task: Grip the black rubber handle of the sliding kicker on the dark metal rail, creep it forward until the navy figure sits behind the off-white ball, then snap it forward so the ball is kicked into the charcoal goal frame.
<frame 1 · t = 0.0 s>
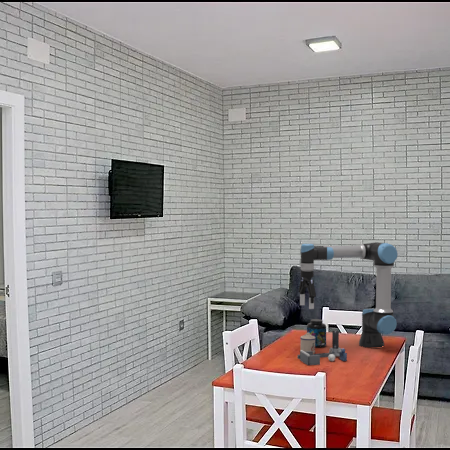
hand: (306, 307, 350), 28 cm above the table, fingers open, 13 cm apart
teacup with lid: (308, 352, 358), on the table
container: (316, 346, 374), on the table
kicker: (339, 345, 342), point 7 cm above the table, slide at 0.0 cm
rail: (320, 357, 345), on the table
ball: (331, 357, 336), point 2 cm above the table
goal: (309, 362, 333), on the table
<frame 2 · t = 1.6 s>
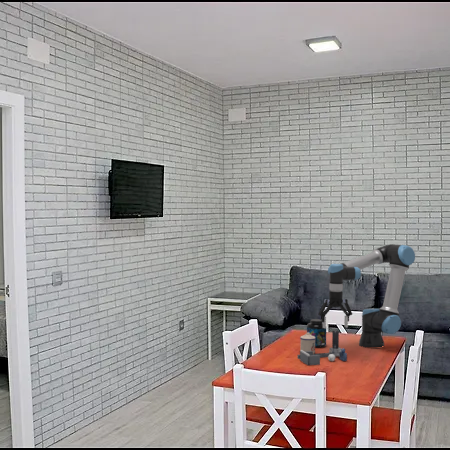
hand: (335, 327, 347), 17 cm above the table, fingers open, 13 cm apart
nothing on the table moved.
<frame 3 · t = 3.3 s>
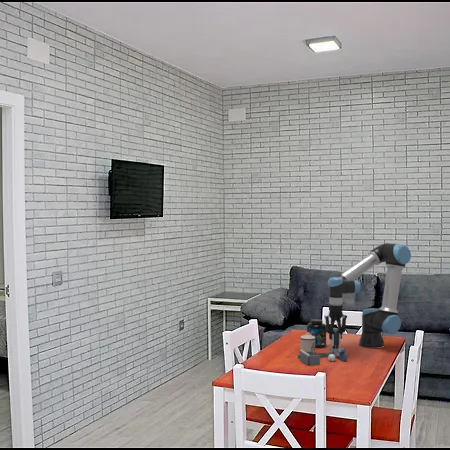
hand: (335, 344, 347), 7 cm above the table, fingers closed on kicker, 4 cm apart
kicker: (339, 345, 342), point 7 cm above the table, slide at 0.0 cm, touching gripper
everything else where it was.
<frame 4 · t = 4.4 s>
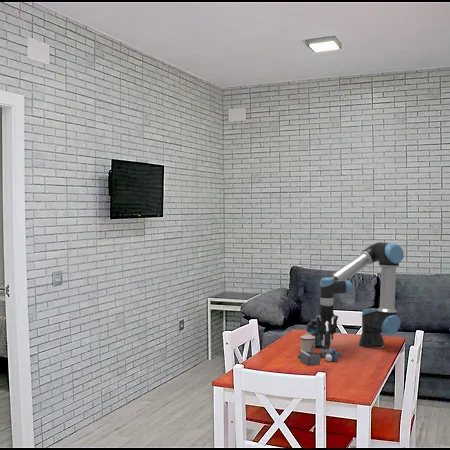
hand: (326, 345, 346), 7 cm above the table, fingers closed on kicker, 4 cm apart
kicker: (330, 345, 341), point 7 cm above the table, slide at 5.6 cm, touching gripper
ball: (328, 357, 336), point 2 cm above the table, tilted 44°
everything else where it was.
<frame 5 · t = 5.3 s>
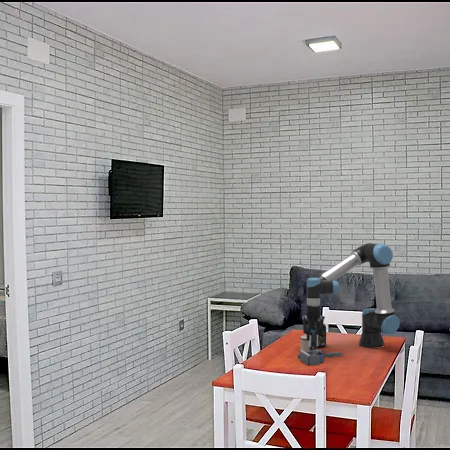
hand: (313, 346, 344), 7 cm above the table, fingers closed on kicker, 4 cm apart
kicker: (316, 346, 339), point 7 cm above the table, slide at 14.0 cm, touching gripper
ball: (309, 358, 333), point 2 cm above the table, tilted 14°
everything else where it was.
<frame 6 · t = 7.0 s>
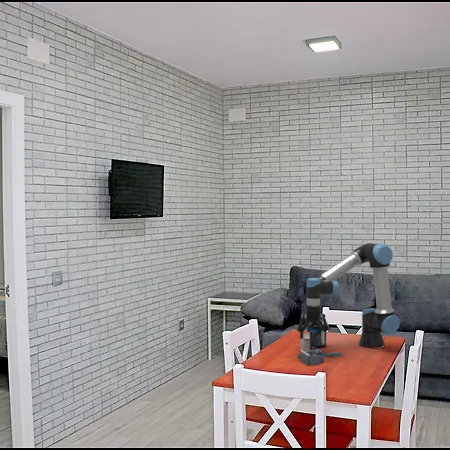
hand: (312, 343, 344), 8 cm above the table, fingers open, 11 cm apart
kicker: (316, 346, 339), point 7 cm above the table, slide at 14.0 cm
ball: (314, 358, 334), point 2 cm above the table, tilted 75°
everything else where it was.
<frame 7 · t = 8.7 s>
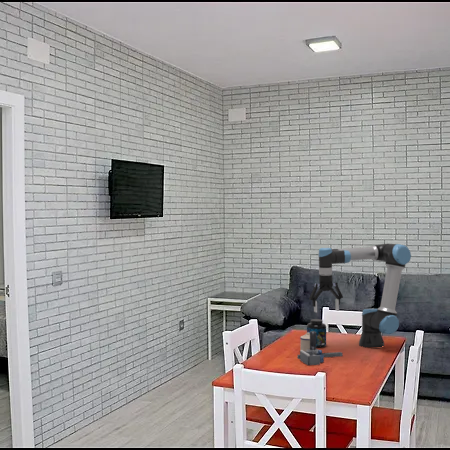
hand: (326, 311, 349), 26 cm above the table, fingers open, 13 cm apart
ball: (314, 358, 333), point 2 cm above the table, tilted 65°
everything else where it was.
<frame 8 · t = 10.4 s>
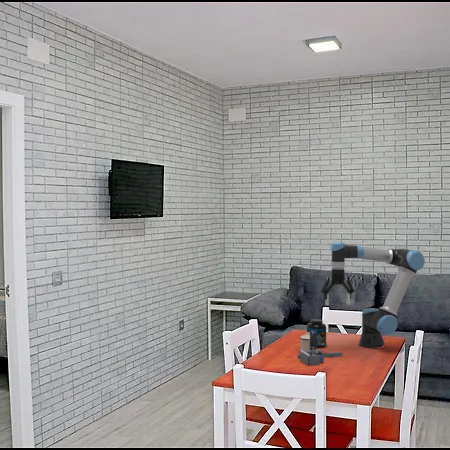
hand: (337, 304, 354), 29 cm above the table, fingers open, 13 cm apart
ball: (313, 358, 333), point 2 cm above the table, tilted 54°
everything else where it was.
at the end: ball inside the target area on the goal (1.6 cm from its centre), point 2.0 cm above the goal's base; kicker slide at 14.0 cm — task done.
